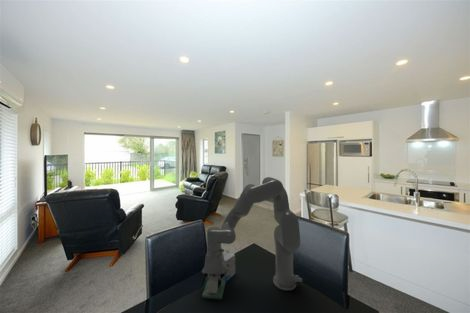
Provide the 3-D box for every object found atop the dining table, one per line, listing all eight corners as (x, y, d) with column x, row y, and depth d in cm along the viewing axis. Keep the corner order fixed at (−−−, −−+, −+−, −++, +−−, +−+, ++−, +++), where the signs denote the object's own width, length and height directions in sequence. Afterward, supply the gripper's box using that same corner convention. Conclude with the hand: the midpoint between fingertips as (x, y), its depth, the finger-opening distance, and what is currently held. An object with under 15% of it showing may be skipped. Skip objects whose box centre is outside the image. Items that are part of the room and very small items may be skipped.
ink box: (226, 282, 97) (226, 258, 97) (215, 275, 102) (215, 253, 102) (235, 273, 103) (235, 251, 104) (225, 268, 109) (224, 247, 109)
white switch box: (220, 280, 96) (220, 268, 96) (216, 293, 86) (216, 280, 86) (212, 279, 96) (212, 267, 96) (208, 292, 87) (208, 279, 87)
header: (225, 282, 97) (225, 272, 97) (221, 299, 85) (221, 288, 85) (208, 280, 98) (208, 270, 98) (202, 297, 86) (201, 286, 86)
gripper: (230, 248, 94) (231, 281, 94) (201, 246, 96) (201, 279, 96) (228, 256, 87) (229, 292, 86) (196, 254, 89) (197, 289, 88)
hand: (214, 285), depth 91 cm, fingers closed on white switch box, 4 cm apart
